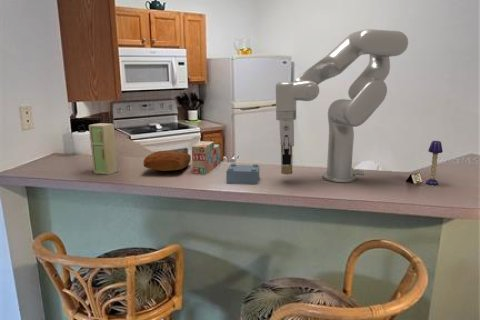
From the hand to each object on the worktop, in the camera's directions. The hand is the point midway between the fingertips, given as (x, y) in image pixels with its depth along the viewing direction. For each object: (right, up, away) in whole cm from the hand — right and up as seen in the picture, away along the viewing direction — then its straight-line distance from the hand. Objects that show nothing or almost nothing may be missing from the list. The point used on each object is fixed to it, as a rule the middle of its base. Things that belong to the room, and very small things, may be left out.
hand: (286, 162), depth 135 cm
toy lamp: (+55, -9, -1) cm, 56 cm away
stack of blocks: (-33, -3, +24) cm, 41 cm away
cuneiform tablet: (-50, -4, +20) cm, 54 cm away
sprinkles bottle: (0, -4, +1) cm, 5 cm away
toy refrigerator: (-77, -5, +17) cm, 79 cm away
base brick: (-17, -7, +4) cm, 19 cm away
